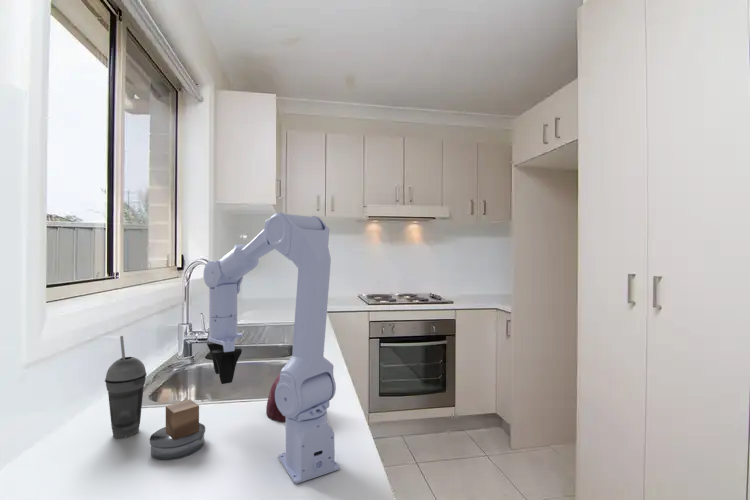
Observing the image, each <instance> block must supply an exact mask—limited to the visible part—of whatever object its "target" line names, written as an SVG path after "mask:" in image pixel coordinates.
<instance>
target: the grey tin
mask: <svg viewBox="0 0 750 500" xmlns="http://www.w3.org/2000/svg"><path fill="white" fill-rule="evenodd" d="M205 433H206V426H205V424H203V423H201V422H199V432H196V433H193V434H190V435H187V436H184V437H181V438H178V439H175V440H173V439H172V438H171V437H170V436H169V435H168V434H167V433H166V426H164V427H162V428H160V429H158V430H156V431H155V432H154V433H152V434H151V436H150V438H149V444H150V456H151V458H153V459H155V460H158V461H173V460H179V459H183V458H185V457H189V456H191V455H194V454H195V453H197V452H198V451H199V450H201V449H202V448H203V447H204V444H205Z"/></svg>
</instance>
